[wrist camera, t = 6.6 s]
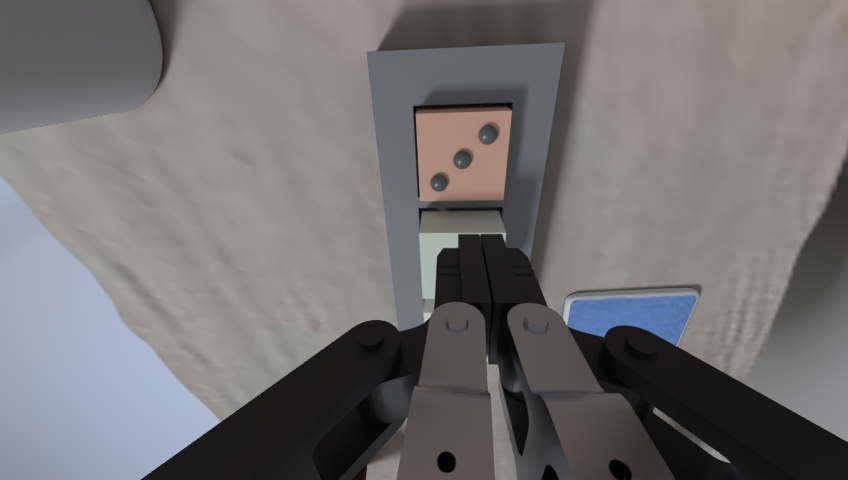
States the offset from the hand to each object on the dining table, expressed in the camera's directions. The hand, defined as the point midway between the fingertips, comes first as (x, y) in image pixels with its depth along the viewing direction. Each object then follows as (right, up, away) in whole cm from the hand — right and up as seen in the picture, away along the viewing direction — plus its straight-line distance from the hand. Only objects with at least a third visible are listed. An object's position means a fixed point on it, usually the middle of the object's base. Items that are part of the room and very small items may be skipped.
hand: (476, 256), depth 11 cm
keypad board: (+1, +2, +18) cm, 18 cm away
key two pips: (+1, 0, +15) cm, 15 cm away
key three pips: (+1, +8, +13) cm, 15 cm away
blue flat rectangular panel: (+20, -12, +26) cm, 35 cm away
